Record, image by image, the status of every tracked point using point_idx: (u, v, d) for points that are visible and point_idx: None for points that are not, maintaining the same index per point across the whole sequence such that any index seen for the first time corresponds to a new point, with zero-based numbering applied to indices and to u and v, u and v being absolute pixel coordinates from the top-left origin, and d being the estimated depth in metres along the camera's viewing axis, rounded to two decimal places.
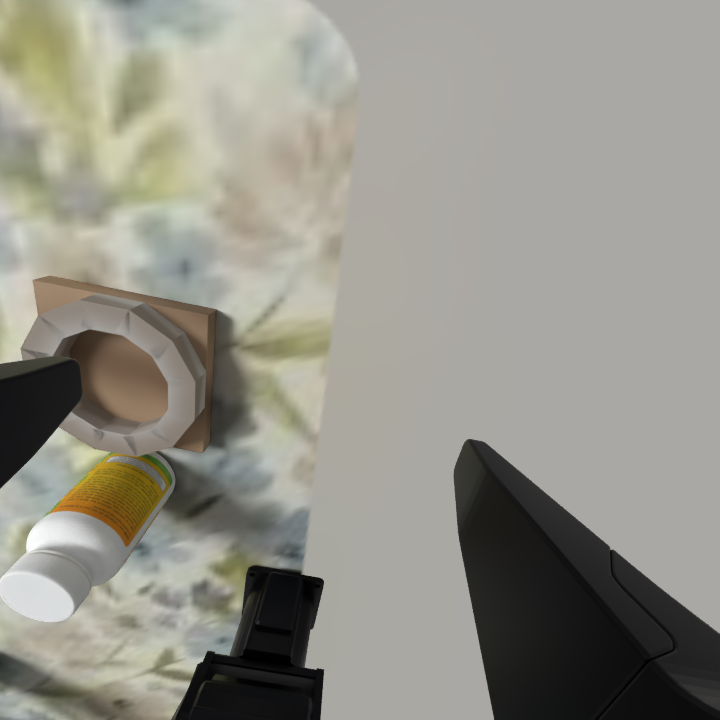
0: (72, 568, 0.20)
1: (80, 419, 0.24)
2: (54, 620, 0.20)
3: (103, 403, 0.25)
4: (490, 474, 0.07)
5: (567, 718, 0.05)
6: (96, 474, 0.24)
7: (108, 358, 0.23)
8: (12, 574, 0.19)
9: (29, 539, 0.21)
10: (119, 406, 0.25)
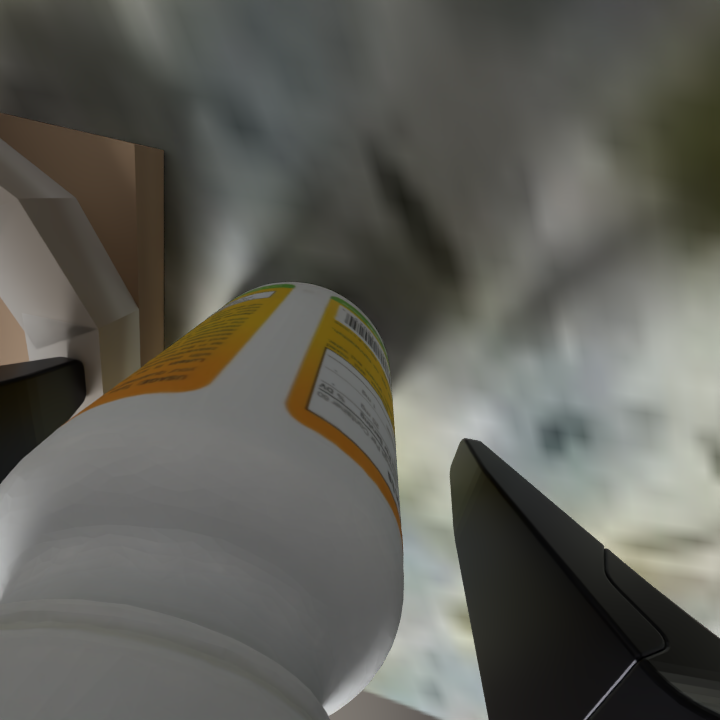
0: None
1: None
2: None
3: None
4: (485, 473, 0.07)
5: (560, 717, 0.05)
6: None
7: None
8: None
9: None
10: None
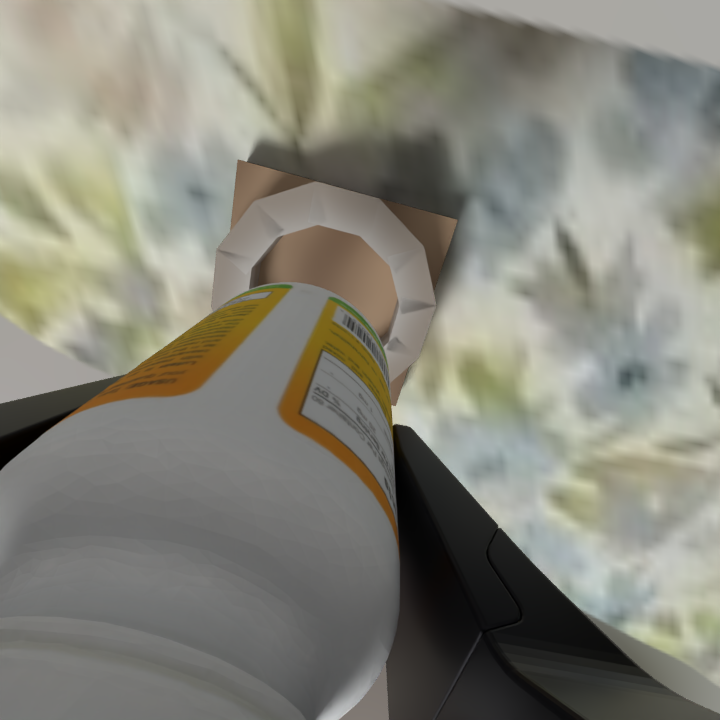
0: None
1: None
2: None
3: None
4: (401, 456, 0.07)
5: (431, 695, 0.05)
6: None
7: None
8: None
9: None
10: (372, 321, 0.19)
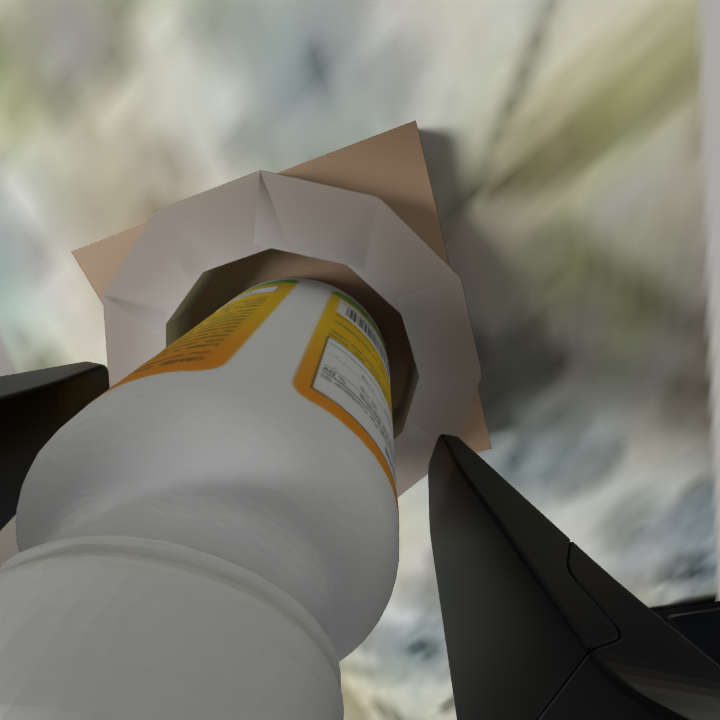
0: None
1: None
2: None
3: None
4: (458, 468, 0.07)
5: (518, 710, 0.05)
6: None
7: None
8: None
9: None
10: None
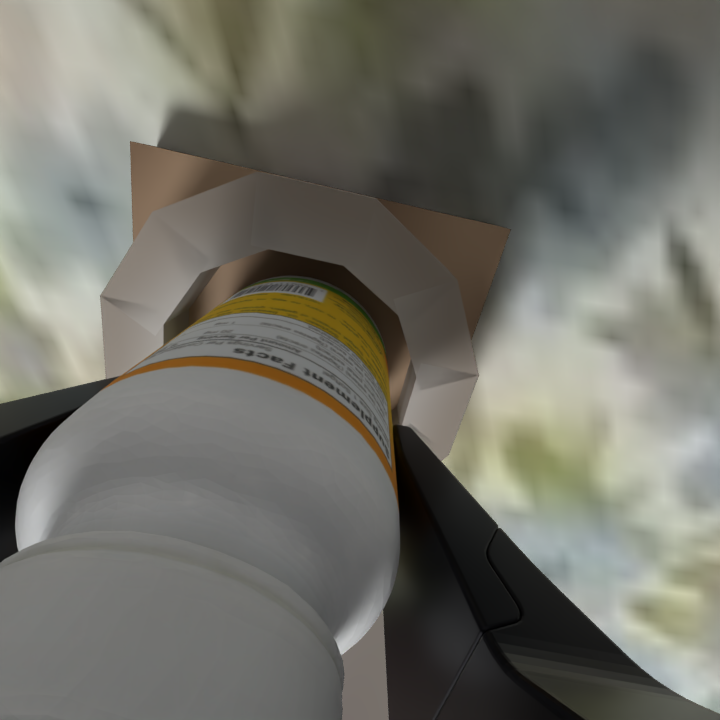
0: None
1: None
2: None
3: None
4: (401, 456, 0.07)
5: (431, 695, 0.05)
6: None
7: None
8: None
9: None
10: None
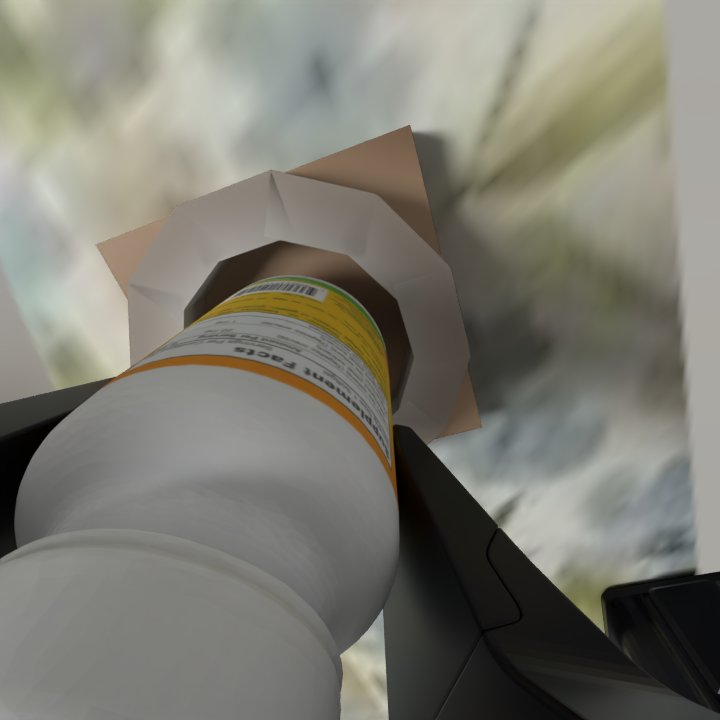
0: None
1: None
2: None
3: None
4: (401, 456, 0.07)
5: (431, 695, 0.05)
6: None
7: None
8: None
9: None
10: None
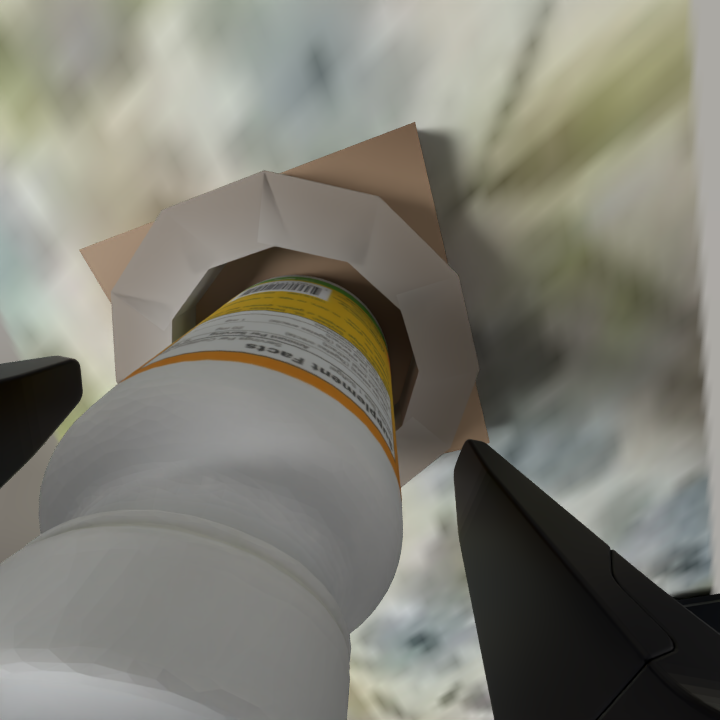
0: None
1: None
2: (123, 696, 0.03)
3: None
4: (490, 474, 0.07)
5: (567, 718, 0.05)
6: None
7: None
8: None
9: None
10: None
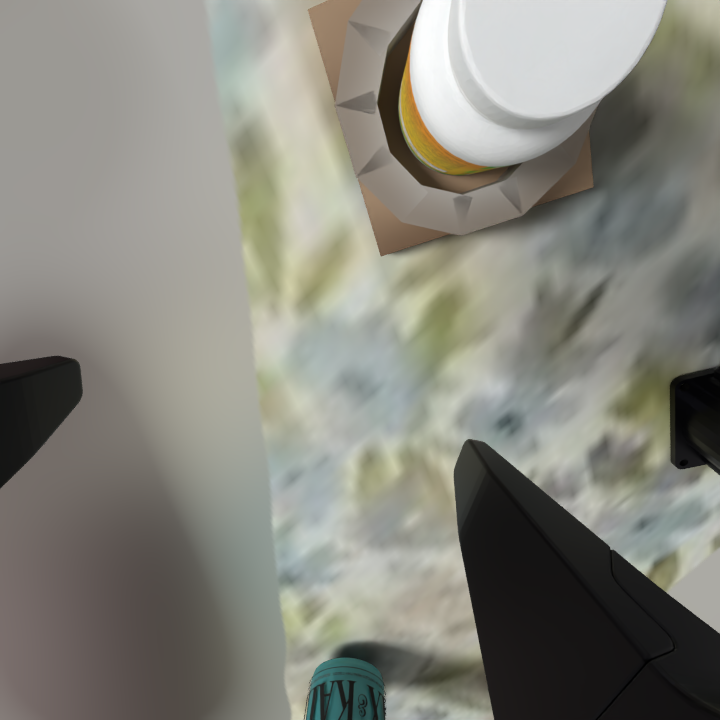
0: (450, 29, 0.08)
1: (433, 192, 0.16)
2: None
3: (437, 179, 0.17)
4: (490, 474, 0.07)
5: (567, 718, 0.05)
6: (445, 166, 0.14)
7: None
8: (526, 112, 0.08)
9: (537, 145, 0.10)
10: None
